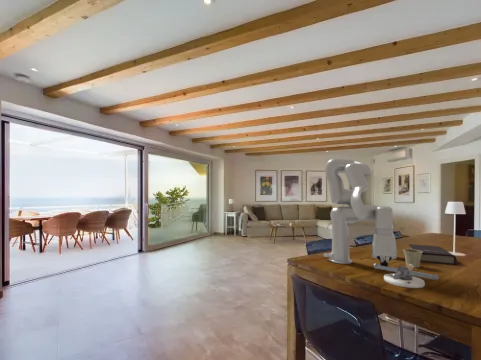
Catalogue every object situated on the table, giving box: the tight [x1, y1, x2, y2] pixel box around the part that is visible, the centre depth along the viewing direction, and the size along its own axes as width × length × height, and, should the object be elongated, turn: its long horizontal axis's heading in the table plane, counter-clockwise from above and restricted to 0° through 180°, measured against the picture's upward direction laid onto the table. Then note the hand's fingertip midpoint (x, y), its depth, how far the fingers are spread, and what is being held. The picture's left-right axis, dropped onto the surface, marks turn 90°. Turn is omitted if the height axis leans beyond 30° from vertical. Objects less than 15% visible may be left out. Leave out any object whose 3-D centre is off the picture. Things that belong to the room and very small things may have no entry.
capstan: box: [372, 263, 440, 281], centre depth 128 cm, size 26×26×5 cm
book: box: [408, 243, 458, 266], centre depth 178 cm, size 28×20×6 cm
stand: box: [383, 273, 426, 289], centre depth 128 cm, size 16×16×2 cm
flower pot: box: [402, 248, 423, 269], centre depth 156 cm, size 9×9×9 cm
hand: (384, 270), depth 137 cm, fingers closed
